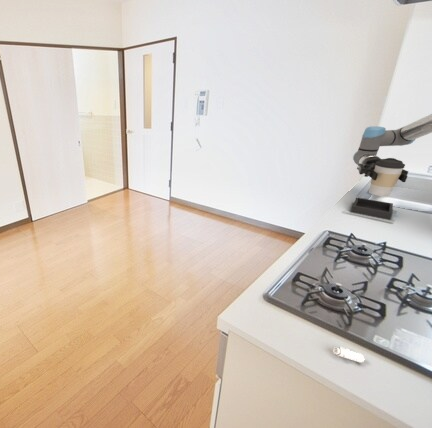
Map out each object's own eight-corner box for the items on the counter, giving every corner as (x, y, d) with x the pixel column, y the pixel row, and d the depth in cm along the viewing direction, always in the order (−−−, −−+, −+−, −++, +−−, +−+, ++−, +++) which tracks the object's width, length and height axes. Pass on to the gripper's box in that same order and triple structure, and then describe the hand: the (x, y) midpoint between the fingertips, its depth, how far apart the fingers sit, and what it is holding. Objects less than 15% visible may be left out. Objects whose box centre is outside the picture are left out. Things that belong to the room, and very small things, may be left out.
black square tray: (390, 209, 127) (392, 203, 126) (389, 219, 119) (392, 213, 118) (354, 203, 136) (356, 197, 134) (350, 212, 127) (353, 205, 126)
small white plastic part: (365, 373, 59) (370, 363, 58) (330, 357, 63) (334, 347, 62) (366, 361, 62) (371, 351, 60) (332, 346, 65) (336, 337, 64)
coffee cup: (392, 198, 117) (407, 163, 110) (364, 194, 122) (376, 160, 116) (393, 192, 122) (406, 158, 116) (366, 188, 128) (377, 156, 122)
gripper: (397, 173, 131) (421, 189, 112) (341, 169, 139) (355, 184, 121) (403, 157, 128) (429, 171, 109) (346, 155, 136) (360, 167, 118)
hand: (390, 178), depth 115 cm, fingers closed on coffee cup, 9 cm apart
